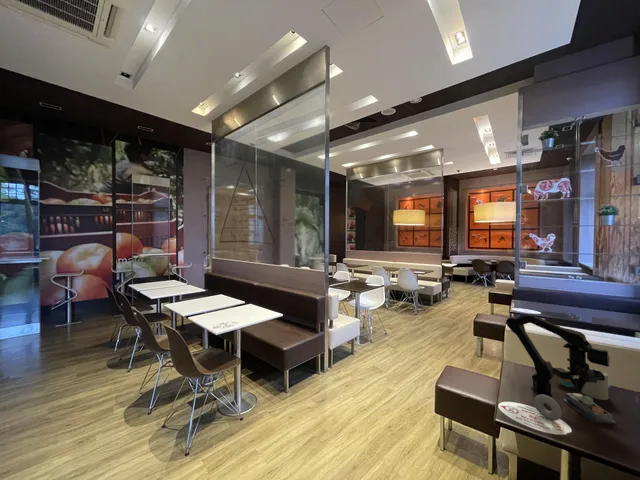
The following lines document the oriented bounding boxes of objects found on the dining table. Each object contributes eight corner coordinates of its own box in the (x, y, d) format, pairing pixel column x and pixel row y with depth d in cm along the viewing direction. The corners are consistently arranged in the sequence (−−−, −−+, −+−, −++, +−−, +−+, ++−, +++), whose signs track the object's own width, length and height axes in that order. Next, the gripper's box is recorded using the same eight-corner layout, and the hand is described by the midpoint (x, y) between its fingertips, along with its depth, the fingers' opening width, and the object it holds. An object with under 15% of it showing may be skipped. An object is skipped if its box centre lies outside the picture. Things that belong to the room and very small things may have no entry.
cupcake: (572, 382, 145) (572, 360, 145) (582, 390, 136) (581, 367, 137) (553, 380, 147) (552, 358, 148) (561, 388, 139) (560, 365, 139)
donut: (532, 413, 120) (531, 390, 120) (536, 411, 121) (536, 389, 121) (559, 427, 110) (558, 403, 111) (564, 424, 112) (563, 401, 112)
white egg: (577, 404, 123) (577, 397, 124) (571, 400, 127) (570, 392, 127) (585, 405, 123) (585, 397, 123) (579, 400, 127) (579, 393, 127)
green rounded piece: (586, 408, 119) (586, 400, 119) (579, 403, 122) (579, 395, 122) (595, 408, 118) (595, 400, 118) (588, 403, 122) (588, 396, 122)
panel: (592, 422, 113) (592, 413, 113) (563, 400, 128) (562, 393, 129) (616, 424, 112) (615, 415, 112) (583, 401, 127) (583, 394, 127)
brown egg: (597, 418, 114) (596, 410, 114) (589, 413, 117) (589, 405, 117) (606, 419, 113) (606, 411, 113) (598, 414, 117) (598, 406, 117)
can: (614, 400, 128) (613, 375, 129) (595, 400, 129) (594, 375, 129) (595, 389, 138) (594, 366, 138) (577, 389, 138) (576, 366, 138)
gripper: (569, 366, 118) (570, 400, 118) (616, 367, 116) (617, 403, 116) (551, 355, 129) (552, 387, 129) (593, 356, 127) (594, 389, 127)
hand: (578, 391), depth 125 cm, fingers closed
